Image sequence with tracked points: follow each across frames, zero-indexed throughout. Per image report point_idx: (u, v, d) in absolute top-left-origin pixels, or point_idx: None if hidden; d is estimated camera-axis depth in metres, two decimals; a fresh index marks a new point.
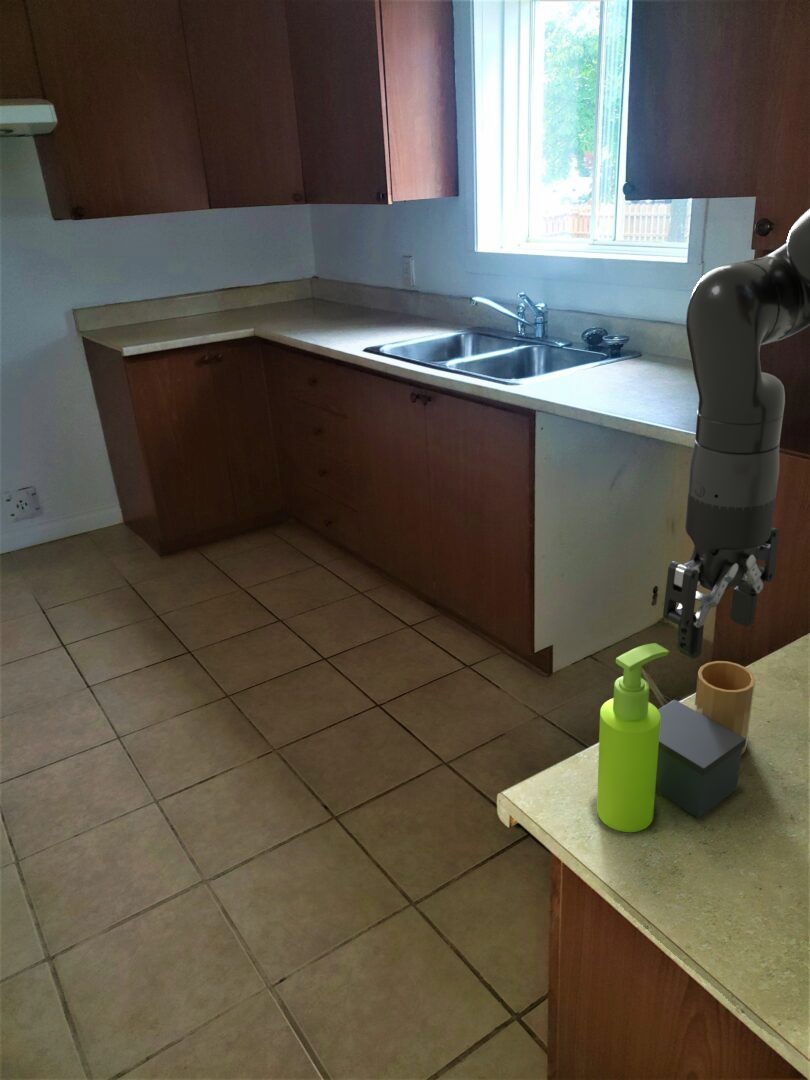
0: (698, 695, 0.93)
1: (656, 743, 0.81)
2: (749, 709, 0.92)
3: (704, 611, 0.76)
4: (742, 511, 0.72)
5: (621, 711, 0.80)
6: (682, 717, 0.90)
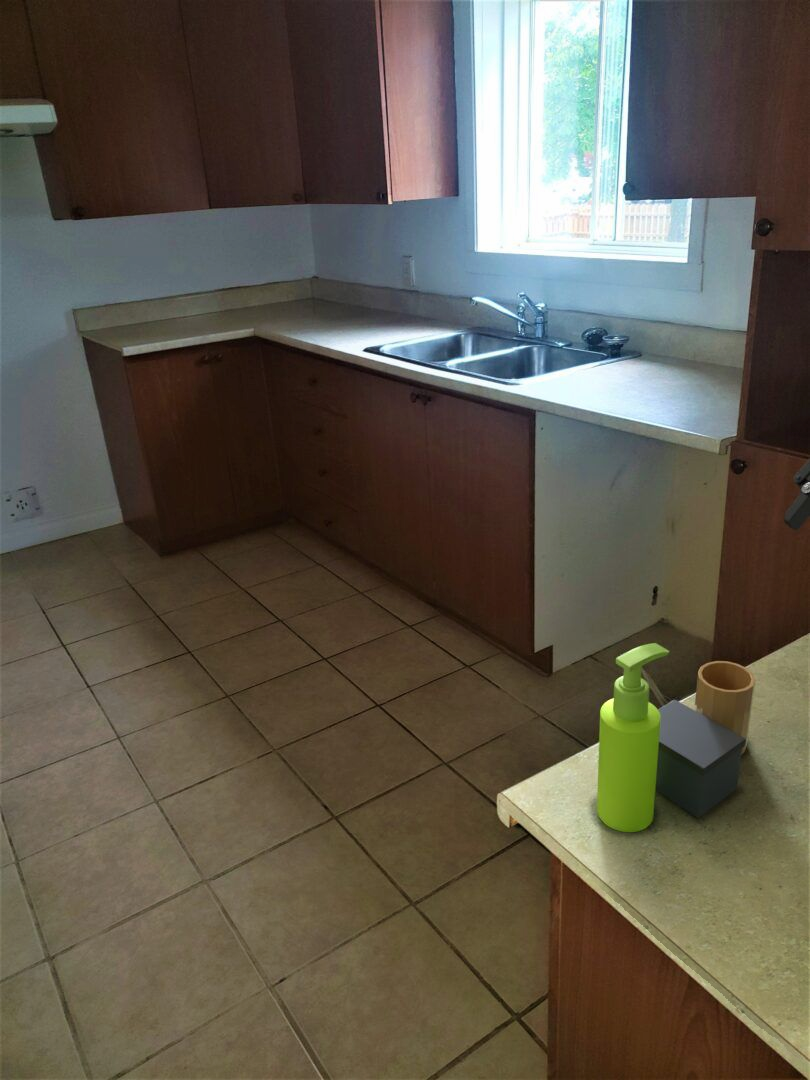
0: (698, 695, 0.93)
1: (656, 743, 0.81)
2: (749, 709, 0.92)
3: None
4: None
5: (621, 711, 0.80)
6: (682, 717, 0.90)
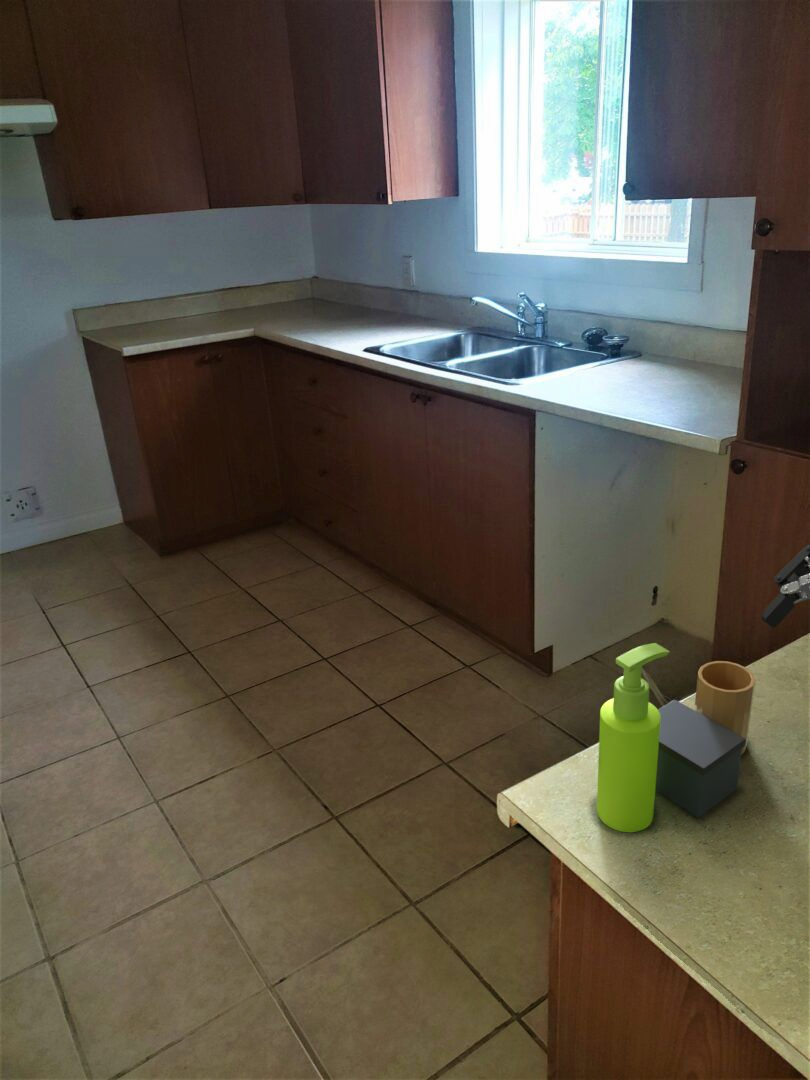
0: (698, 695, 0.93)
1: (656, 743, 0.81)
2: (749, 709, 0.92)
3: (793, 585, 0.95)
4: None
5: (621, 711, 0.80)
6: (682, 717, 0.90)
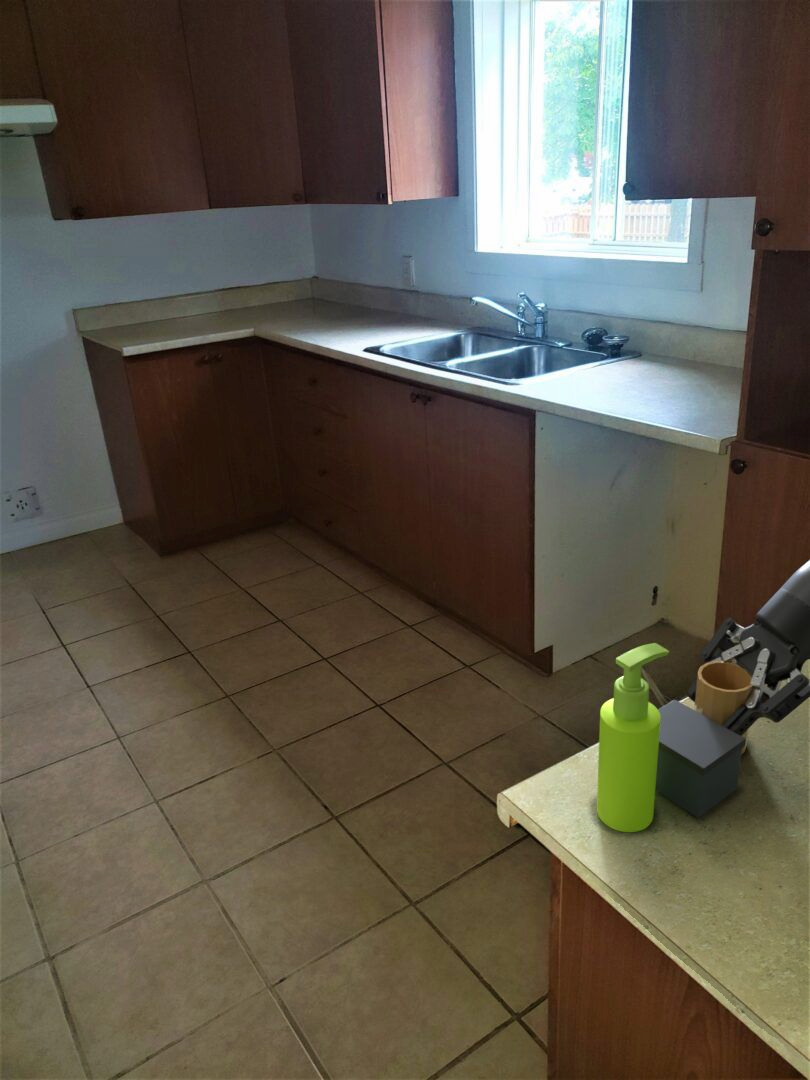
0: (698, 695, 0.93)
1: (656, 743, 0.81)
2: None
3: None
4: (778, 590, 0.93)
5: (622, 711, 0.80)
6: (682, 717, 0.90)
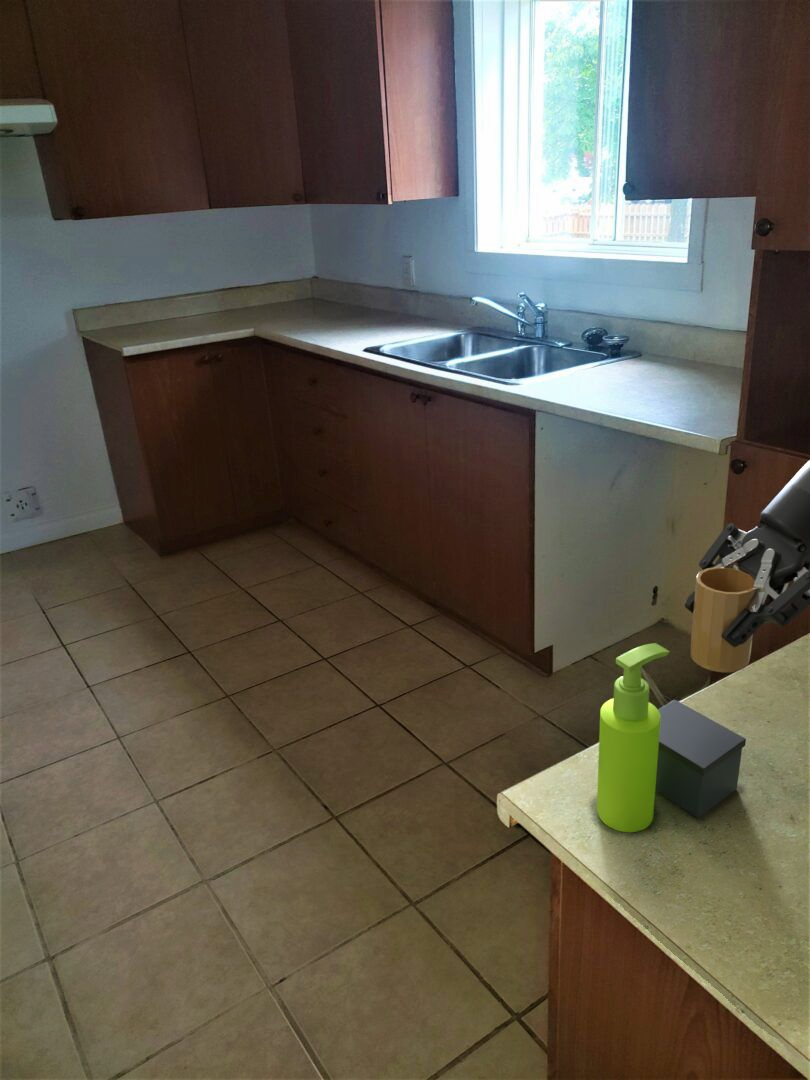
0: (696, 602, 0.86)
1: (656, 743, 0.81)
2: None
3: None
4: (784, 487, 0.85)
5: (622, 711, 0.80)
6: (682, 717, 0.90)
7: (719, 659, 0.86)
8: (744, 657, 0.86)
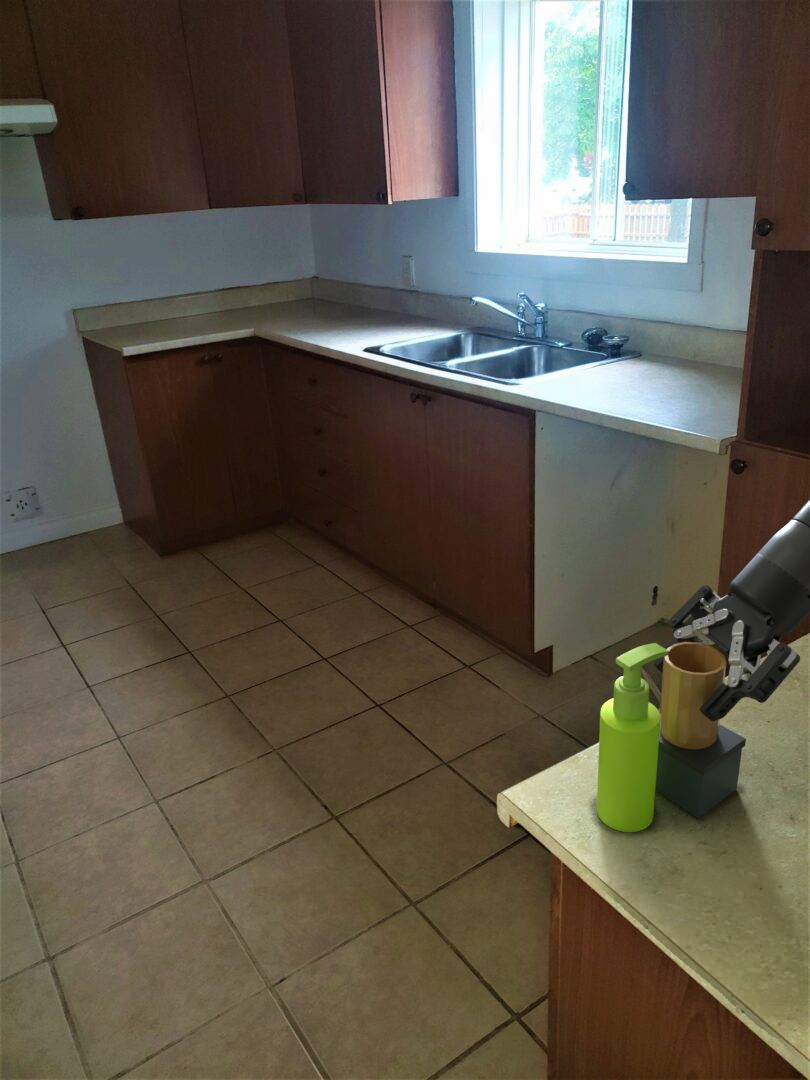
0: (664, 679, 0.85)
1: (656, 743, 0.81)
2: None
3: (687, 629, 0.88)
4: None
5: (622, 711, 0.80)
6: None
7: (687, 737, 0.85)
8: (712, 734, 0.85)
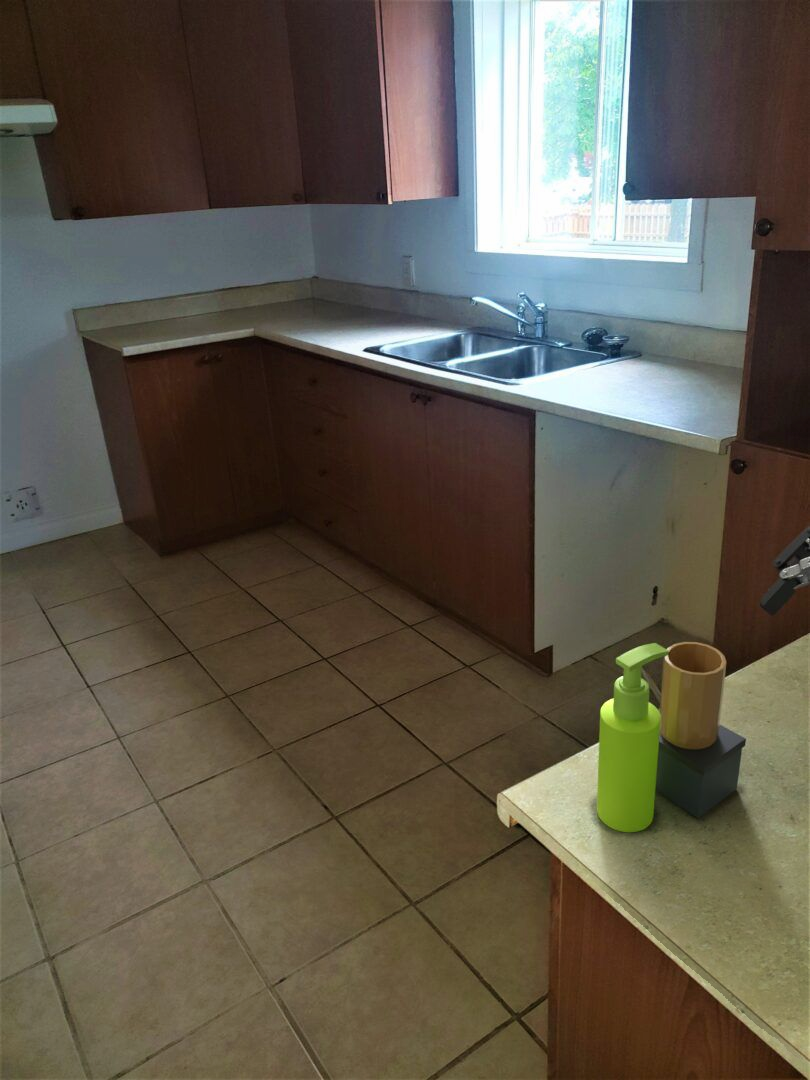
0: (664, 679, 0.85)
1: (656, 743, 0.81)
2: (719, 694, 0.83)
3: (793, 568, 0.88)
4: None
5: (622, 711, 0.80)
6: None
7: (687, 737, 0.85)
8: (712, 734, 0.85)
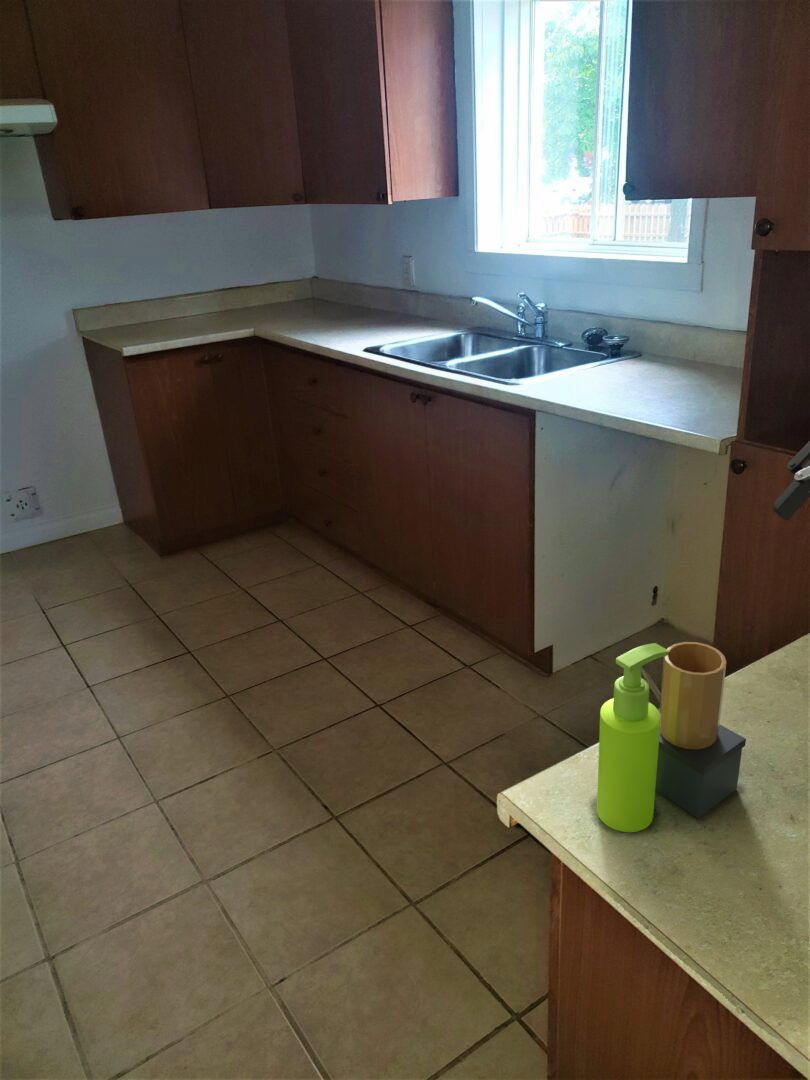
0: (664, 679, 0.85)
1: (656, 743, 0.81)
2: (719, 694, 0.83)
3: (809, 469, 0.84)
4: None
5: (622, 711, 0.80)
6: None
7: (687, 737, 0.85)
8: (712, 734, 0.85)
